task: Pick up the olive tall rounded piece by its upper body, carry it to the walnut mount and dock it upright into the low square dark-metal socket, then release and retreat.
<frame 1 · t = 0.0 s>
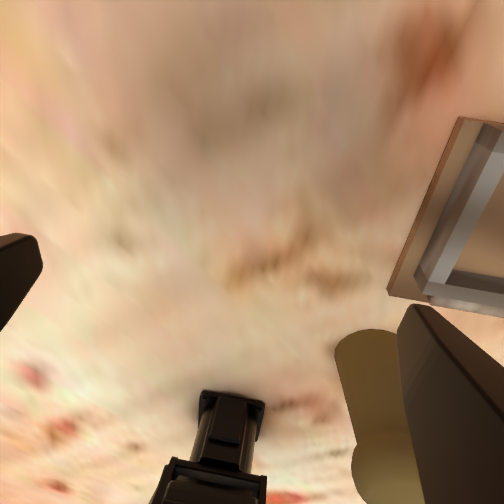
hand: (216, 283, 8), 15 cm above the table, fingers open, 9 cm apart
olive tall rounded piece: (370, 353, 29), on the table
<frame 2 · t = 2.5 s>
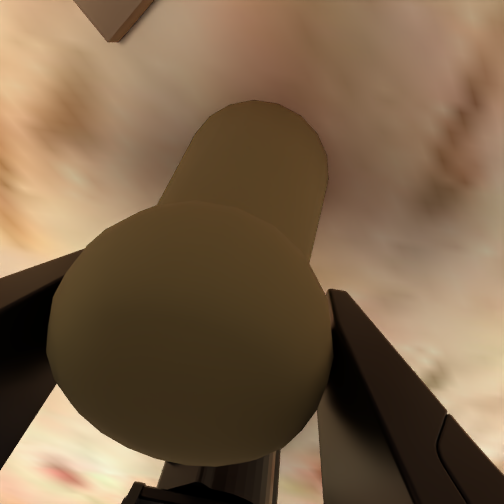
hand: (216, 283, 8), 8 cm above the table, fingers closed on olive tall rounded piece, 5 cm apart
olive tall rounded piece: (256, 175, 15), on the table, touching gripper
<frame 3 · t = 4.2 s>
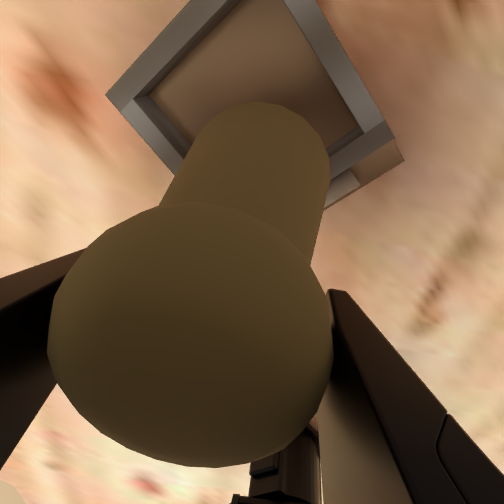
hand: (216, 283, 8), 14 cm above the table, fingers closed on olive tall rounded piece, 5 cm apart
olive tall rounded piece: (258, 176, 15), point 6 cm above the table, touching gripper
mount: (257, 128, 19), on the table
when the fingers open (9 cm above the table, at t = 5.8 s): olive tall rounded piece drops 1 cm, resting on mount.
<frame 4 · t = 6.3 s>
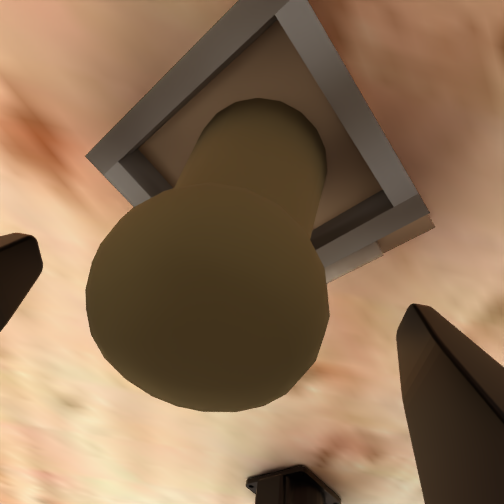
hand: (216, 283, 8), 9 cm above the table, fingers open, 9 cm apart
olive tall rounded piece: (260, 168, 16), point 1 cm above the table, touching mount
mount: (265, 185, 17), on the table
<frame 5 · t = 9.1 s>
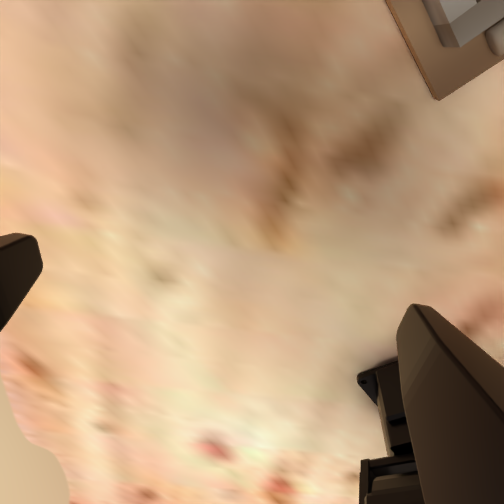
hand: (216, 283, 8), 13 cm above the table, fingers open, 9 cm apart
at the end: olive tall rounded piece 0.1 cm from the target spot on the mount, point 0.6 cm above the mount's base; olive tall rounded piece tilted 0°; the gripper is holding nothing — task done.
